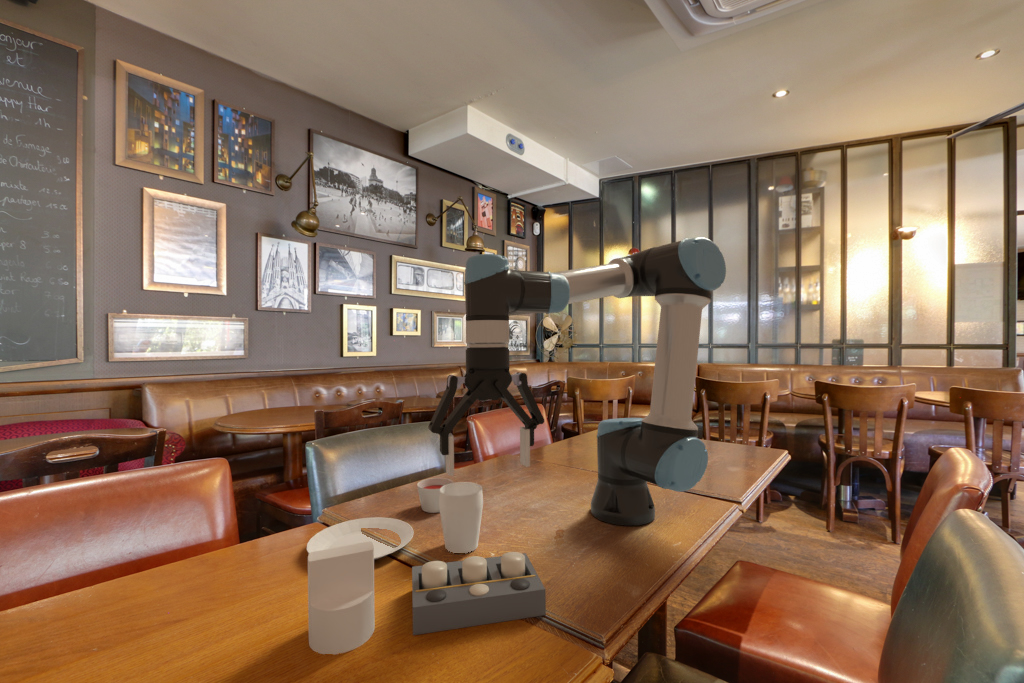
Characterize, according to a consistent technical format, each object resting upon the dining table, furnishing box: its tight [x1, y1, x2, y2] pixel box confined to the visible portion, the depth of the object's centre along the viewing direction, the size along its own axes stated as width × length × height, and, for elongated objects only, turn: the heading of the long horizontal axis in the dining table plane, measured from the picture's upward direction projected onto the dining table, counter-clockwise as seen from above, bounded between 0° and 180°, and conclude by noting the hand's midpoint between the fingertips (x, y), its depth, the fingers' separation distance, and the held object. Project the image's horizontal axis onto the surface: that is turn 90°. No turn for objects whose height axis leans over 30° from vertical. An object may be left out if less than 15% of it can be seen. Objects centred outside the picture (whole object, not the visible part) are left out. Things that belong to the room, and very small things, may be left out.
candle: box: [416, 477, 454, 514], centre depth 114 cm, size 9×9×6 cm
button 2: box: [462, 555, 487, 584], centre depth 74 cm, size 4×4×4 cm
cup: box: [439, 481, 484, 554], centre depth 92 cm, size 9×9×12 cm
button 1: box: [500, 551, 525, 579], centre depth 75 cm, size 4×4×4 cm
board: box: [411, 552, 547, 636], centre depth 73 cm, size 20×12×4 cm, turn 103°
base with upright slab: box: [307, 541, 376, 655], centre depth 65 cm, size 9×9×12 cm
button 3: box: [421, 560, 447, 589], centre depth 72 cm, size 4×4×4 cm
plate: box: [306, 516, 415, 561], centre depth 93 cm, size 21×21×2 cm
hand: (488, 469), depth 77 cm, fingers open, 13 cm apart
